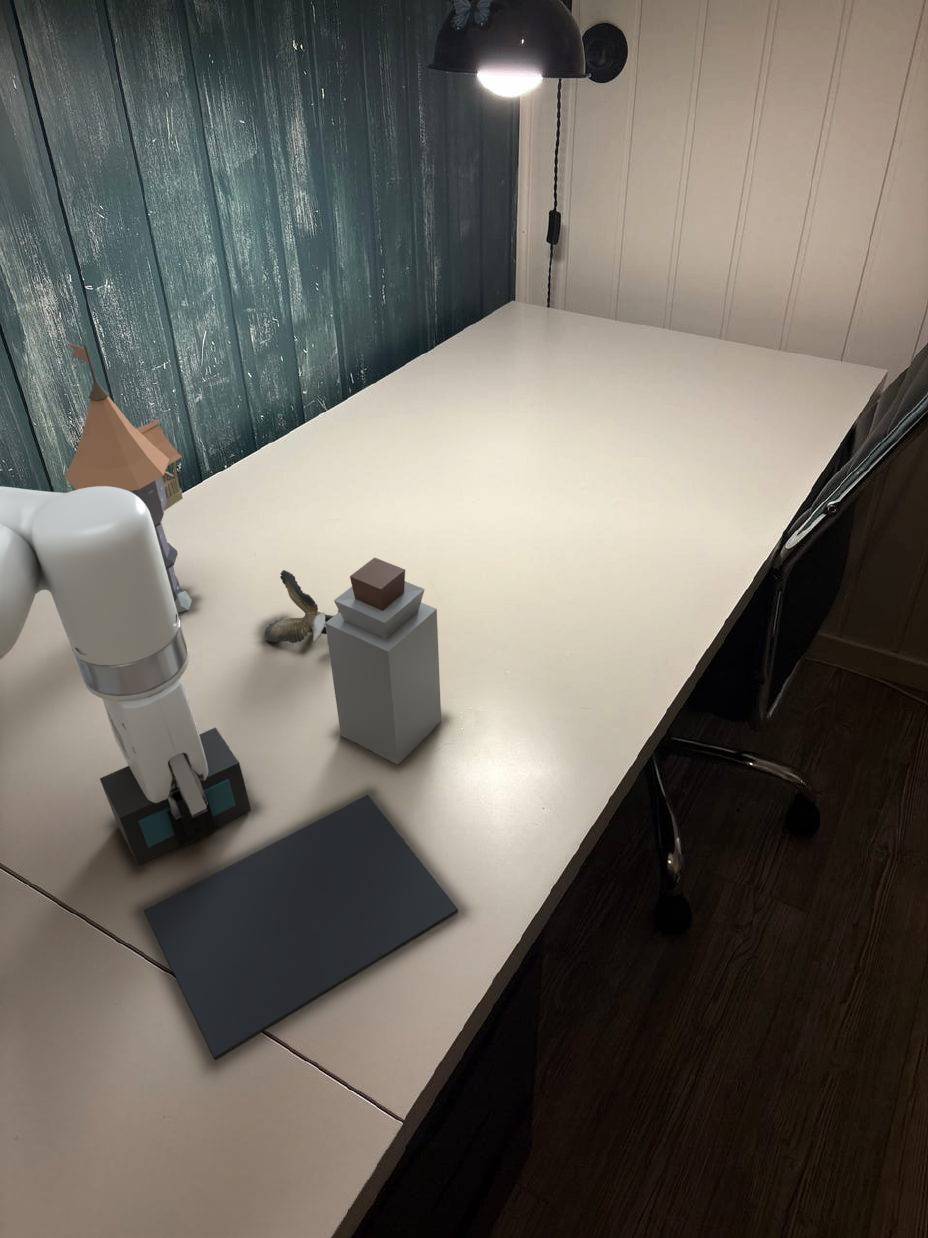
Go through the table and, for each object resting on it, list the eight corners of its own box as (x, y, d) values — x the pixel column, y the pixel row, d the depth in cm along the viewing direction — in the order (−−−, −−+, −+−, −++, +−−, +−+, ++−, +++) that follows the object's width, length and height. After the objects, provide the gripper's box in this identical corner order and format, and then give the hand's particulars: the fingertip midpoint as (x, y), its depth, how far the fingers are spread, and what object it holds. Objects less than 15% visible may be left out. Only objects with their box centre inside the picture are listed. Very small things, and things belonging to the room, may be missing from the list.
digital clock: (138, 867, 75) (120, 819, 71) (118, 825, 78) (99, 778, 74) (251, 811, 79) (240, 763, 75) (228, 774, 82) (215, 727, 78)
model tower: (225, 589, 104) (168, 330, 85) (151, 642, 97) (72, 373, 78) (165, 564, 108) (98, 312, 89) (90, 613, 101) (1, 350, 82)
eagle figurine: (362, 605, 99) (287, 579, 100) (353, 584, 93) (272, 556, 94) (336, 669, 97) (259, 642, 99) (324, 653, 91) (241, 623, 92)
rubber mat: (215, 1059, 62) (214, 1057, 62) (144, 912, 71) (143, 910, 71) (458, 911, 71) (458, 909, 71) (367, 796, 80) (367, 794, 80)
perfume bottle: (441, 720, 87) (435, 566, 76) (398, 765, 83) (384, 607, 72) (385, 693, 90) (371, 541, 79) (340, 735, 86) (319, 579, 75)
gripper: (47, 611, 71) (108, 770, 82) (119, 743, 59) (178, 906, 71) (142, 577, 74) (188, 735, 85) (227, 696, 63) (267, 860, 74)
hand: (183, 811), depth 78 cm, fingers closed on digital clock, 5 cm apart
